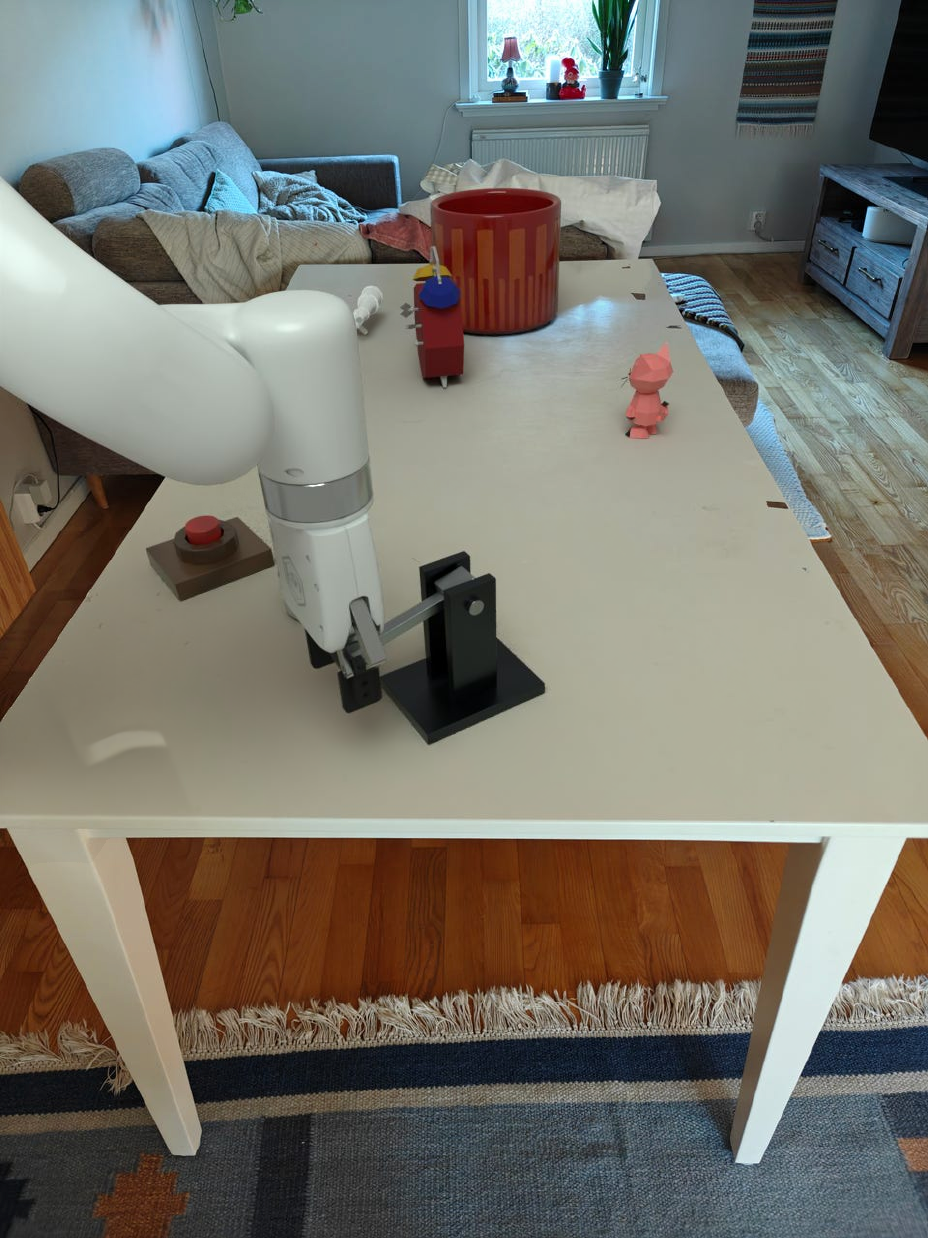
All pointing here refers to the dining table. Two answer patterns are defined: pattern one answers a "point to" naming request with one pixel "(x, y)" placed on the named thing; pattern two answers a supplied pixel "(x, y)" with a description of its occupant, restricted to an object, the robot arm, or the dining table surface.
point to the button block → (209, 559)
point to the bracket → (460, 660)
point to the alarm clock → (437, 322)
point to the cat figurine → (648, 392)
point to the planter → (500, 256)
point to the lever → (414, 612)
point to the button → (203, 530)
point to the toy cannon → (367, 305)
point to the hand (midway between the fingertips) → (345, 681)
